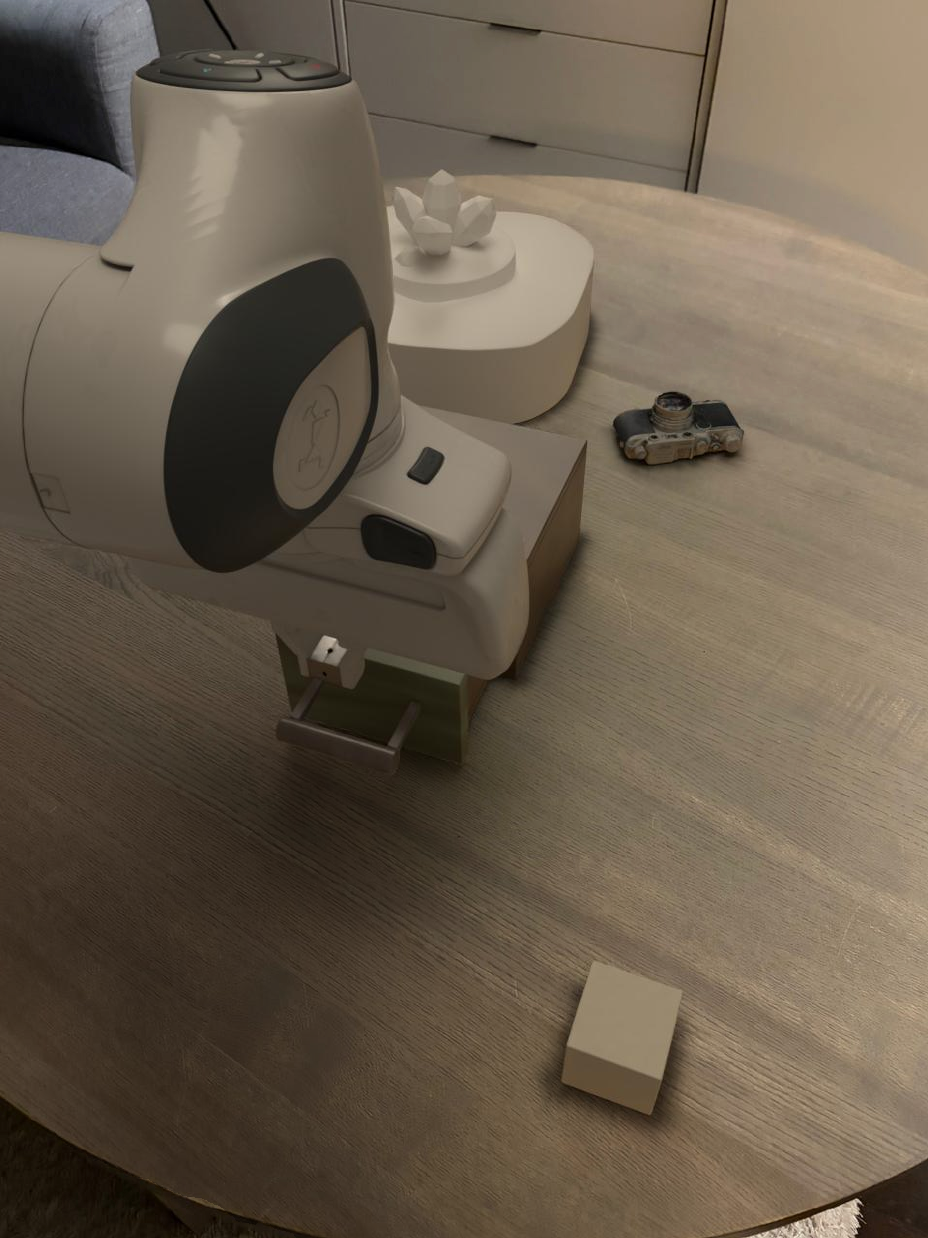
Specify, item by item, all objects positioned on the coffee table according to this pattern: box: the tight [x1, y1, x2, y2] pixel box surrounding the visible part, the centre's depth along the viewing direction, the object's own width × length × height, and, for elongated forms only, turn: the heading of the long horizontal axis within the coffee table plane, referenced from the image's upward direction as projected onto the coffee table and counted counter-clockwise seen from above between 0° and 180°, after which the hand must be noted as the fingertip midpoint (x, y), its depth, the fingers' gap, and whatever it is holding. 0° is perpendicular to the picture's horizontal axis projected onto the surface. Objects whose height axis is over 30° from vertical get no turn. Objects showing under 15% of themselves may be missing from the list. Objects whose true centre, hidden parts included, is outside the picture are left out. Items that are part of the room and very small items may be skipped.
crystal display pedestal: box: [386, 169, 595, 425], centre depth 91 cm, size 25×25×16 cm
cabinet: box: [417, 405, 588, 680], centre depth 71 cm, size 15×13×9 cm
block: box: [561, 960, 684, 1116], centre depth 49 cm, size 4×4×4 cm
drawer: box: [274, 632, 489, 776], centre depth 64 cm, size 18×11×7 cm, turn 159°
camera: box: [612, 390, 745, 466], centre depth 84 cm, size 5×10×4 cm, turn 98°
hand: (333, 673), depth 55 cm, fingers closed
